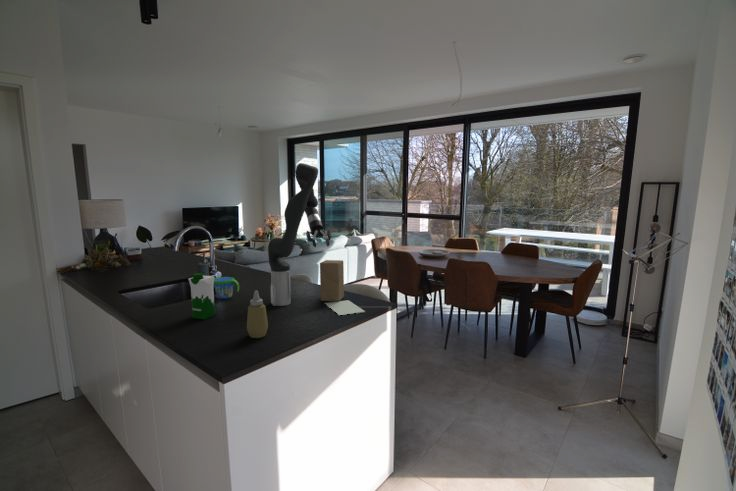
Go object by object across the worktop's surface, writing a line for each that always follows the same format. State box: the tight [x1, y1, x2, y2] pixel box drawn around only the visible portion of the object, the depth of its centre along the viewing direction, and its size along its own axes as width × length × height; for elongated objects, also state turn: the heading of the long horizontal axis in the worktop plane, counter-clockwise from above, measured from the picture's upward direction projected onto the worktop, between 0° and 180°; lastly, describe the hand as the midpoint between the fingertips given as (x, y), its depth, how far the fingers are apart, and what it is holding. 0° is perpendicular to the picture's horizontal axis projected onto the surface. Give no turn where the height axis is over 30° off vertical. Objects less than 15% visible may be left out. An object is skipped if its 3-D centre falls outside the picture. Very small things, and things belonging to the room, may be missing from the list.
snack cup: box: [213, 276, 240, 300], centre depth 195 cm, size 16×10×10 cm
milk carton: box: [187, 272, 217, 320], centre depth 164 cm, size 9×9×20 cm
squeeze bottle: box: [246, 290, 269, 339], centre depth 142 cm, size 8×8×18 cm
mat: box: [324, 300, 366, 317], centre depth 179 cm, size 13×20×1 cm, turn 26°
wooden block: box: [319, 259, 345, 302], centre depth 192 cm, size 10×10×20 cm
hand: (321, 245), depth 204 cm, fingers open, 7 cm apart
